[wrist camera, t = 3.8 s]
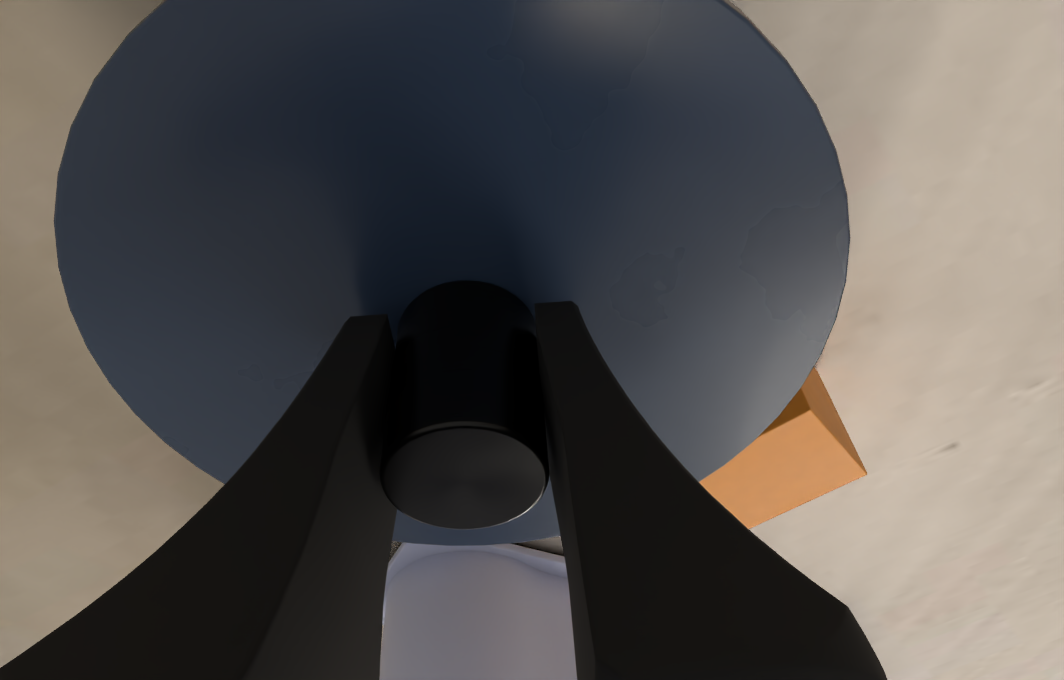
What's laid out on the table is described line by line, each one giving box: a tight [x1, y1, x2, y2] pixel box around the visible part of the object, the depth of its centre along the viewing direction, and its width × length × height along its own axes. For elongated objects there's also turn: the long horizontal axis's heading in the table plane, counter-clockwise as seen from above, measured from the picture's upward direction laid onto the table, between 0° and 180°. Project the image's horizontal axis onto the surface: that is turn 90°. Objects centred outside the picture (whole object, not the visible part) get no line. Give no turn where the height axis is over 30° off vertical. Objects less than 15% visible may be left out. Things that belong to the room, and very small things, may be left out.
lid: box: [54, 0, 850, 546], centre depth 12 cm, size 13×13×4 cm
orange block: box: [699, 367, 867, 529], centre depth 25 cm, size 4×5×5 cm
